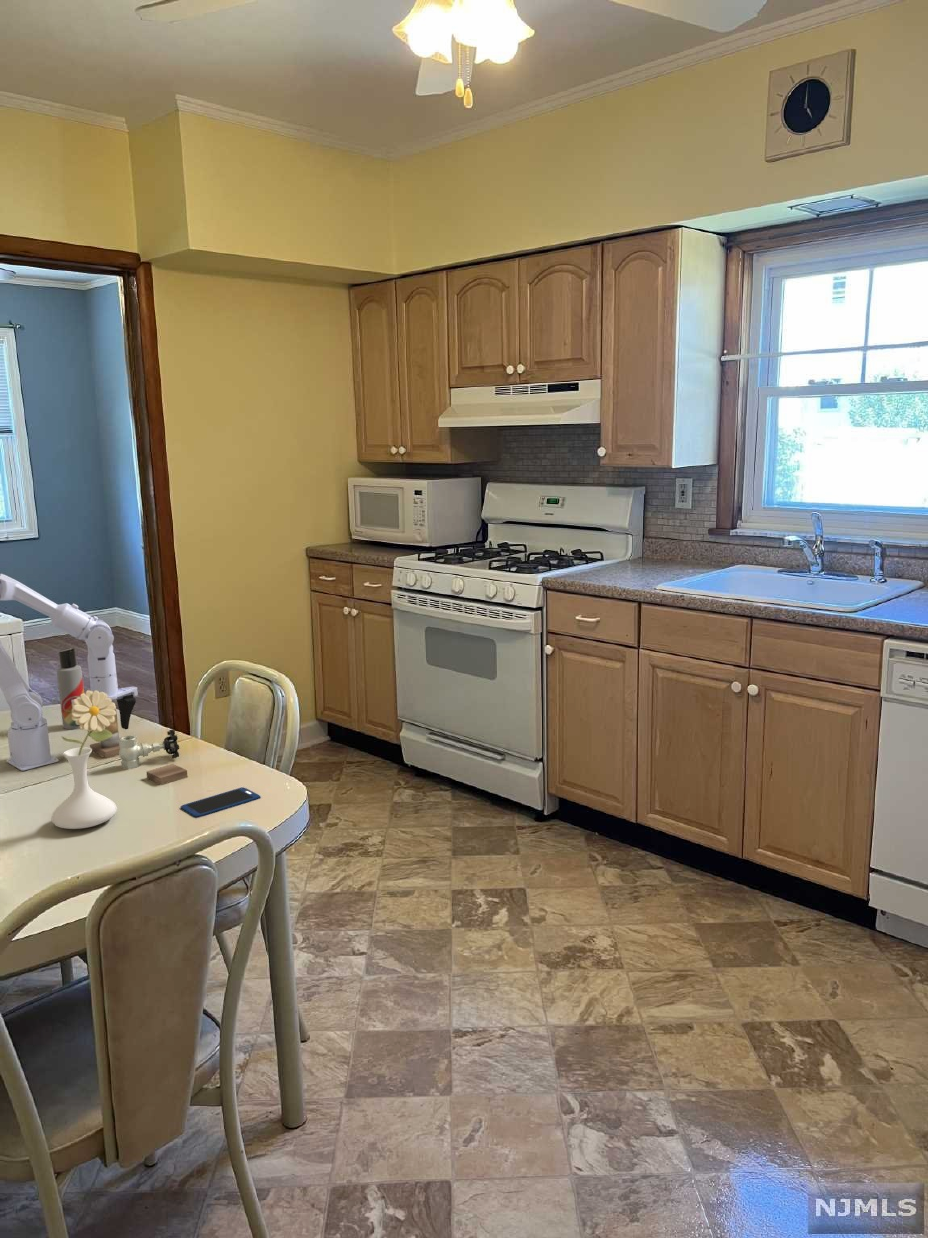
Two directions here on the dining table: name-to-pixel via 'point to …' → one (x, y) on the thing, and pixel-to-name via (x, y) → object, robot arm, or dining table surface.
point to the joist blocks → (155, 775)
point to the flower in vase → (84, 802)
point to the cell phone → (219, 802)
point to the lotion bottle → (69, 685)
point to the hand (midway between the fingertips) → (109, 732)
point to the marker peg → (114, 739)
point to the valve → (144, 749)
